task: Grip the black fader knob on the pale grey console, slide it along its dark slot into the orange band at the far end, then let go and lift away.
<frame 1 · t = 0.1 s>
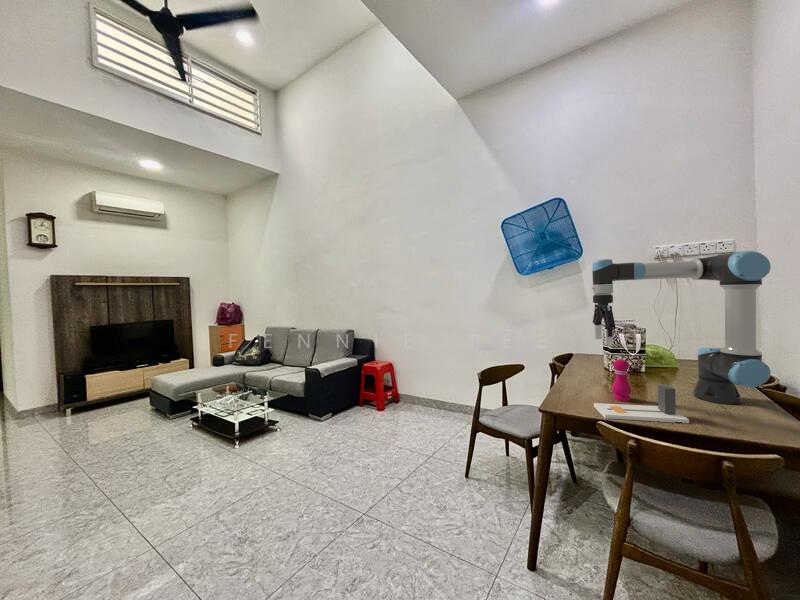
hand: (603, 341, 140), 28 cm above the table, tool pointing down, fingers open, 13 cm apart
fader knob: (666, 399, 125), point 7 cm above the table, slide at 0.0 cm
pepper mill: (621, 399, 145), on the table
console: (637, 414, 128), on the table
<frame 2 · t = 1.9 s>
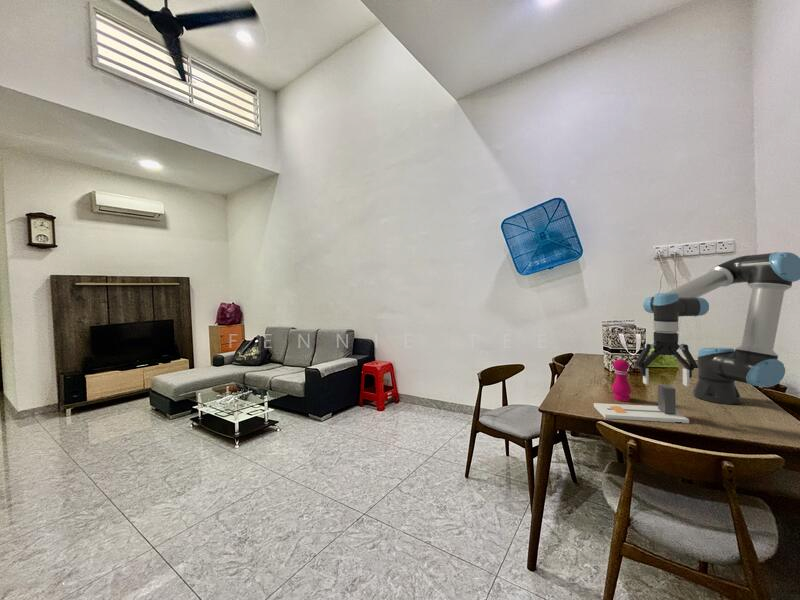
hand: (665, 384, 125), 13 cm above the table, tool pointing down, fingers open, 13 cm apart
nothing on the table moved.
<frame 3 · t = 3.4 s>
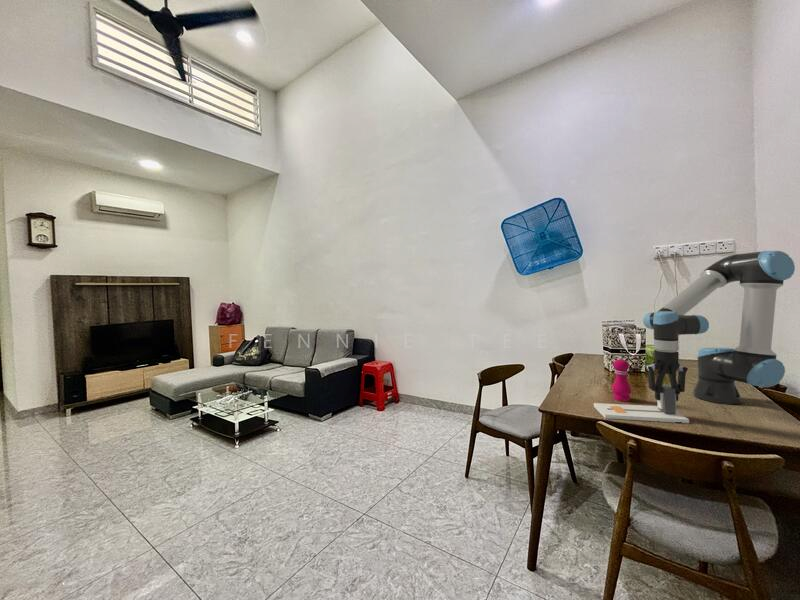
hand: (666, 408, 125), 3 cm above the table, tool pointing down, fingers closed on fader knob, 3 cm apart
fader knob: (666, 399, 125), point 7 cm above the table, slide at 0.0 cm, touching gripper
everything else where it was.
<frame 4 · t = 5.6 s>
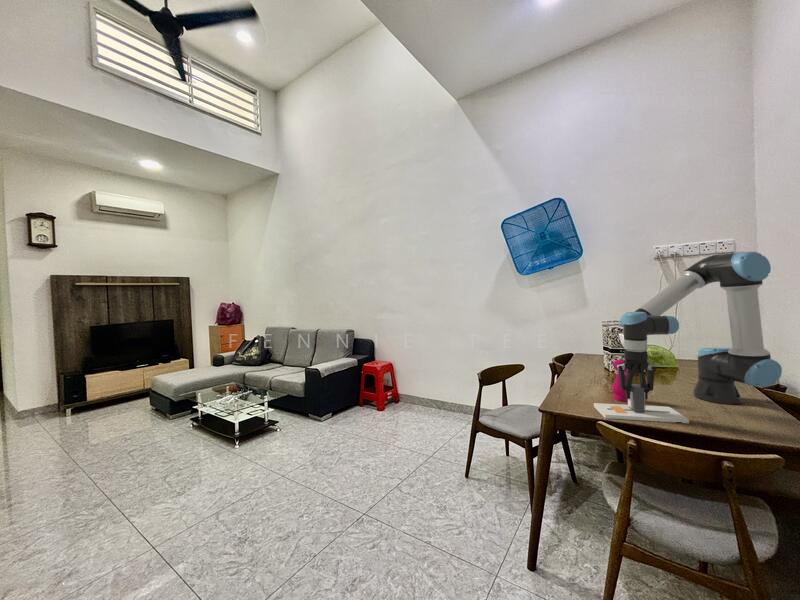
hand: (636, 406, 128), 3 cm above the table, tool pointing down, fingers closed on fader knob, 3 cm apart
fader knob: (636, 397, 128), point 7 cm above the table, slide at 10.5 cm, touching gripper
everything else where it was.
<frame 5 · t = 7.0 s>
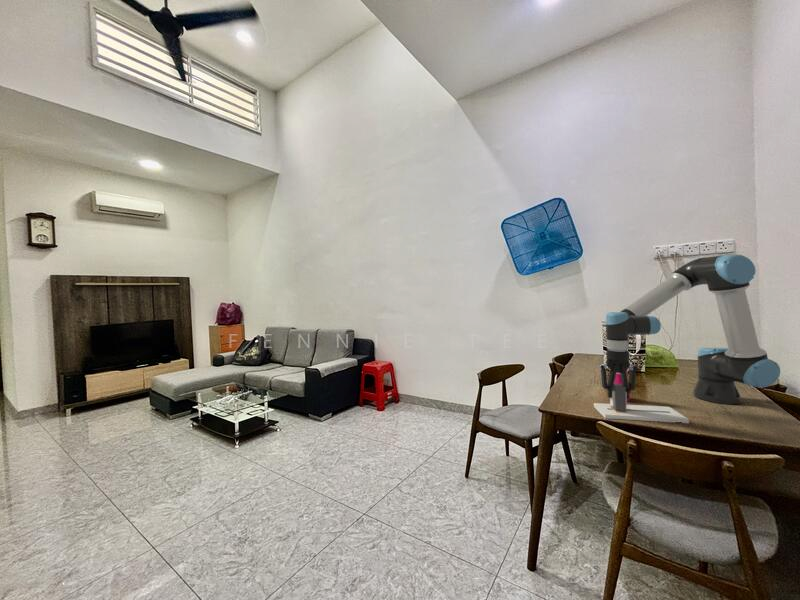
hand: (618, 405, 130), 3 cm above the table, tool pointing down, fingers closed on fader knob, 3 cm apart
fader knob: (618, 396, 130), point 7 cm above the table, slide at 16.9 cm, touching gripper
everything else where it was.
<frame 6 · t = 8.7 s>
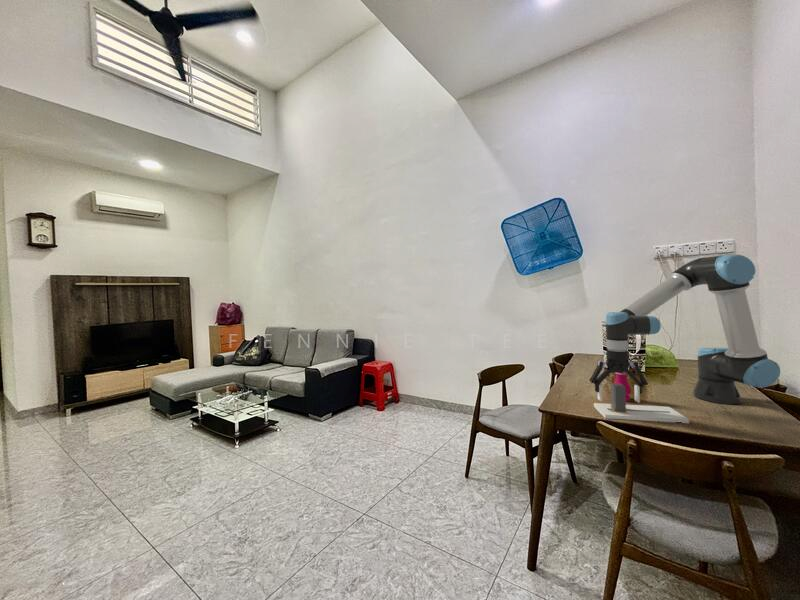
hand: (618, 400, 130), 5 cm above the table, tool pointing down, fingers open, 13 cm apart
fader knob: (618, 396, 130), point 7 cm above the table, slide at 17.0 cm
everything else where it was.
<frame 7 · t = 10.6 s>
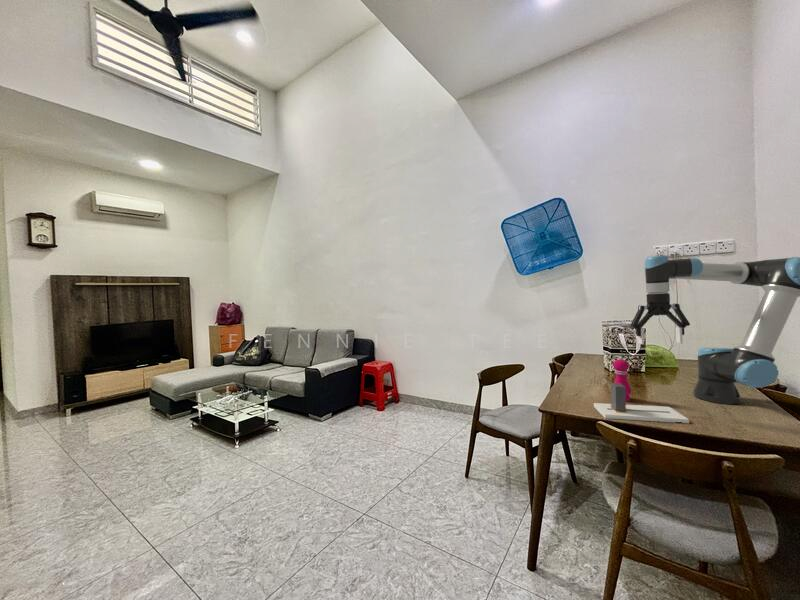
hand: (660, 343, 131), 28 cm above the table, tool pointing down, fingers open, 13 cm apart
nothing on the table moved.
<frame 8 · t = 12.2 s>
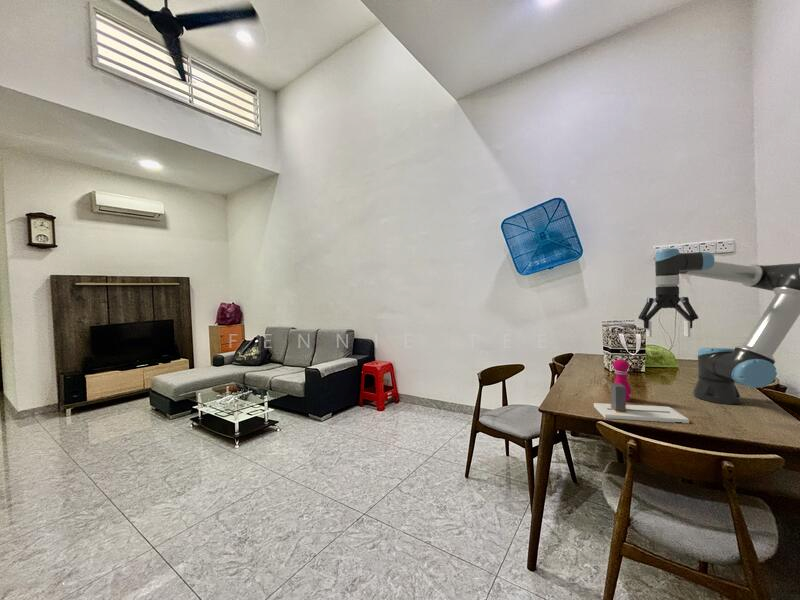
hand: (667, 336, 132), 31 cm above the table, tool pointing down, fingers open, 13 cm apart
nothing on the table moved.
at the end: fader knob slide at 17.0 cm; pepper mill moved 0.2 cm from its start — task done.
